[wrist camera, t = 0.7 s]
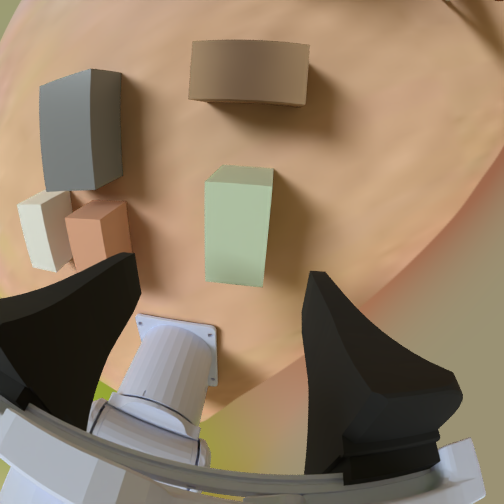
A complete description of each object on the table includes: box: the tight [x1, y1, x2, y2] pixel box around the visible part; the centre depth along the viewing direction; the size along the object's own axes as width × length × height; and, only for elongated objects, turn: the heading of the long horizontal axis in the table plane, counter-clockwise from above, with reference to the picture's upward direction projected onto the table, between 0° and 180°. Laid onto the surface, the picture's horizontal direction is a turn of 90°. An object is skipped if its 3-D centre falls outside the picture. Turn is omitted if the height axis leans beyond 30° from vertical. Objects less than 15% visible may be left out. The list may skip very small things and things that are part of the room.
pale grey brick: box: [17, 190, 73, 272], centre depth 19 cm, size 6×3×4 cm, turn 176°
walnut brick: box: [189, 40, 310, 107], centre depth 14 cm, size 6×3×4 cm, turn 86°
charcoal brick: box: [39, 69, 123, 192], centre depth 16 cm, size 8×5×4 cm, turn 177°
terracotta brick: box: [65, 200, 132, 273], centre depth 20 cm, size 6×3×4 cm, turn 176°
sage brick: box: [205, 165, 274, 287], centre depth 17 cm, size 6×3×5 cm, turn 176°
